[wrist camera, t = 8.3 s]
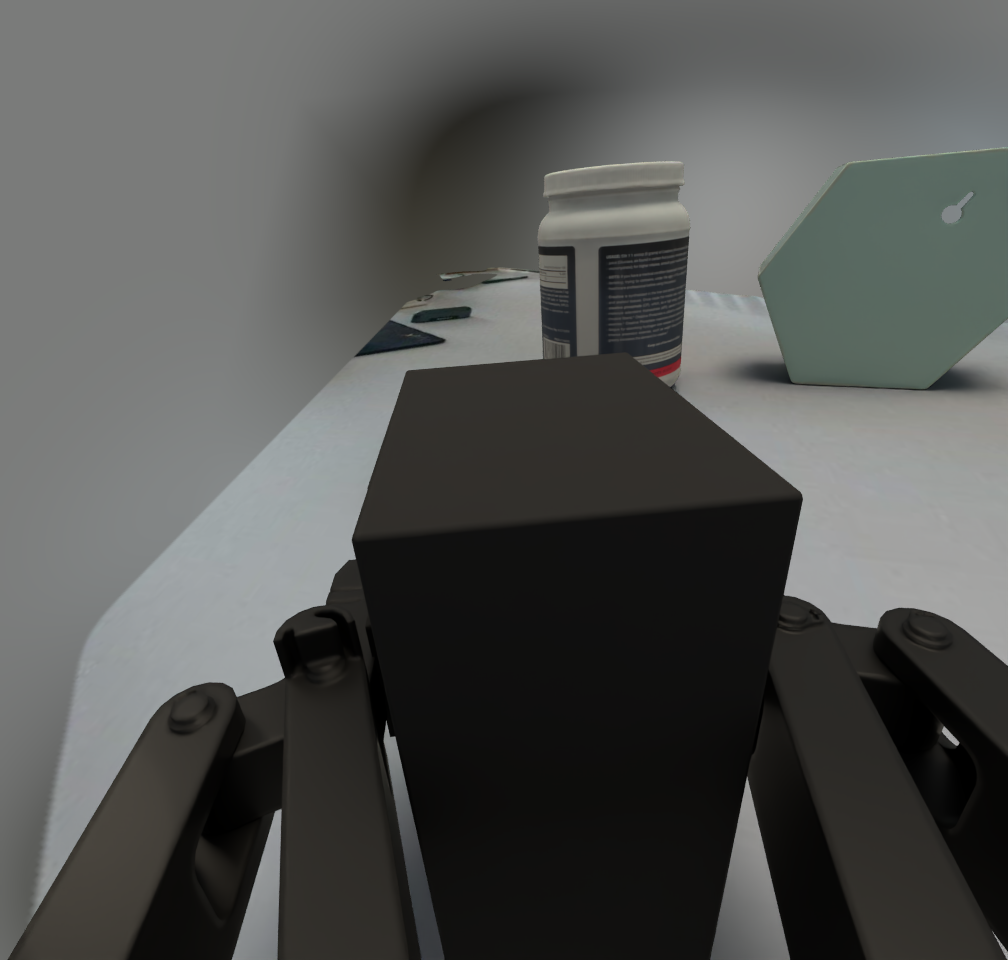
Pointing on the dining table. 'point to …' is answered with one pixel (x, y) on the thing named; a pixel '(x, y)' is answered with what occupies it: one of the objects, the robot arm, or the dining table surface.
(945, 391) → the dining table surface
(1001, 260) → the green hexagonal block
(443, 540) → the tall dark brick
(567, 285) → the supplement tub
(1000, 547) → the dining table surface
